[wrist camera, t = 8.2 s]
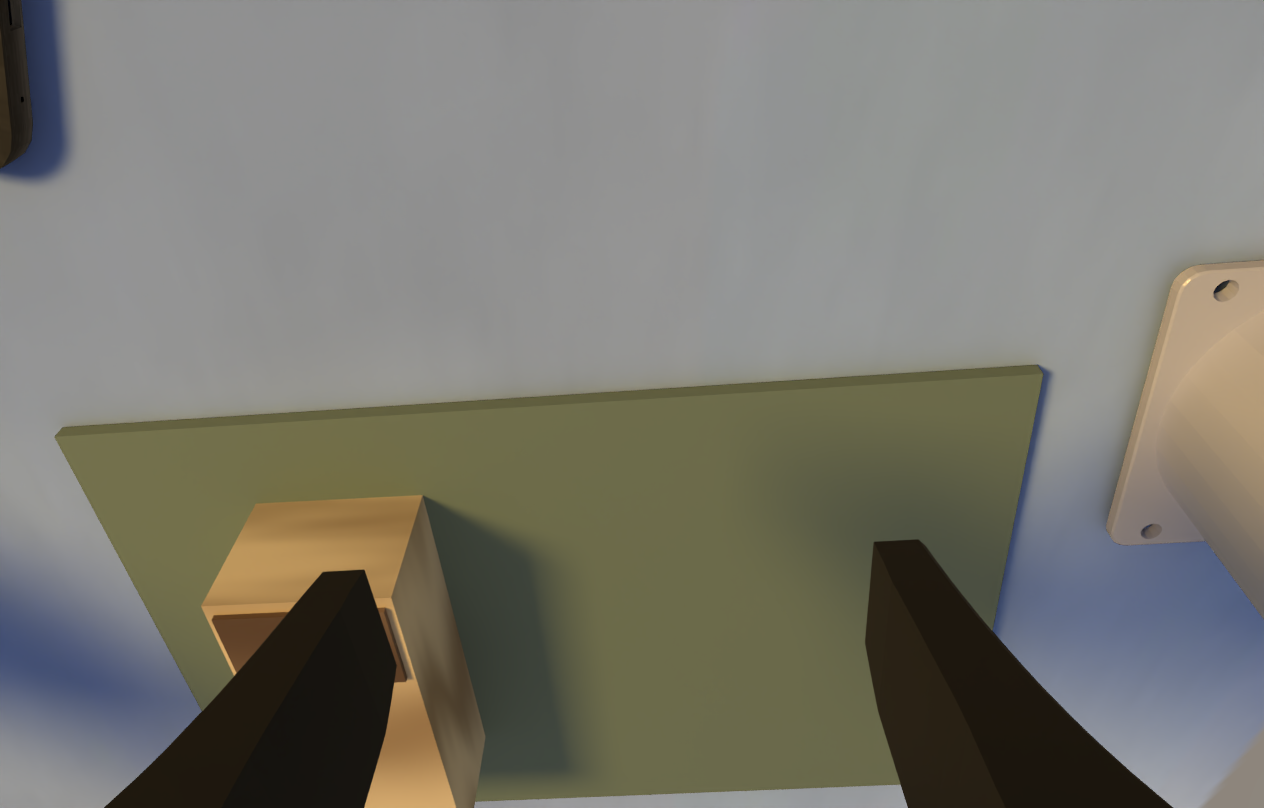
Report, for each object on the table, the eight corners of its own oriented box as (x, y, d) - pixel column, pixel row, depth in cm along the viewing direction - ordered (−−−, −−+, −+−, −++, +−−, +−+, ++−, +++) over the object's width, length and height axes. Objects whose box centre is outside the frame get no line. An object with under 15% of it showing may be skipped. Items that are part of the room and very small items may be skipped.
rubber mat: (1037, 365, 22) (1043, 374, 22) (958, 770, 31) (962, 781, 30) (62, 427, 23) (54, 437, 23) (259, 799, 32) (255, 810, 32)
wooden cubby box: (485, 736, 29) (467, 849, 26) (349, 741, 30) (315, 855, 26) (422, 495, 24) (389, 602, 21) (255, 503, 24) (198, 610, 21)
